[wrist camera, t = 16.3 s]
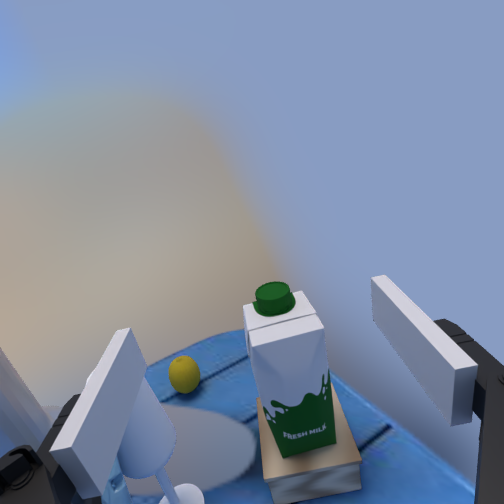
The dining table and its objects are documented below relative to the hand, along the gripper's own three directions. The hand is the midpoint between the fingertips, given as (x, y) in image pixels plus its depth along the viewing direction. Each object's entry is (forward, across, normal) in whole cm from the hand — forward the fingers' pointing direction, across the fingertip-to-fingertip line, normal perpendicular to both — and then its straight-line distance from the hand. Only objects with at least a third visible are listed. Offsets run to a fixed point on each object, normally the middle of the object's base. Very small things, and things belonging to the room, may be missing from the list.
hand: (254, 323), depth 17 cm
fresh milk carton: (+14, +2, -28) cm, 32 cm away
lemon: (+31, -17, -34) cm, 49 cm away
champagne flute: (+11, -16, -34) cm, 39 cm away
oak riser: (+15, +2, -34) cm, 37 cm away
